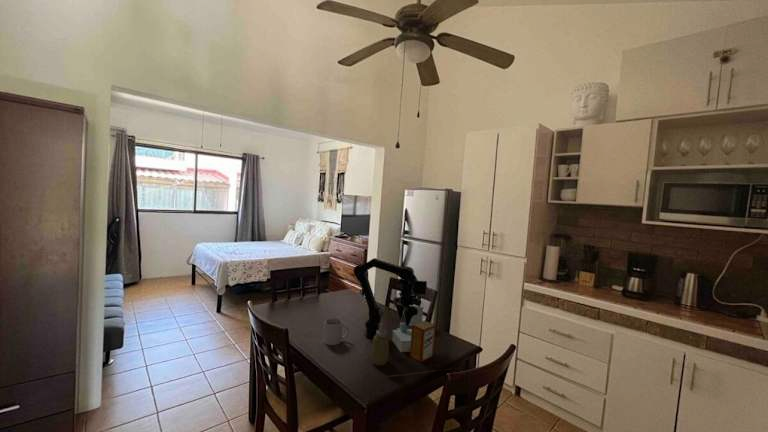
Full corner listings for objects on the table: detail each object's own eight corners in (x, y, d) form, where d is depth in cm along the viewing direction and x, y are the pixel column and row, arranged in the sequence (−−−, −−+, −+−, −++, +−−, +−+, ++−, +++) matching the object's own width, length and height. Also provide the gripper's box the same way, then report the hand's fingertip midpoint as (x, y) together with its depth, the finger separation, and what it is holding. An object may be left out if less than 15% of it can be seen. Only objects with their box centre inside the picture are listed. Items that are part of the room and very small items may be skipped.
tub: (400, 353, 147) (401, 343, 147) (392, 341, 159) (393, 332, 159) (419, 351, 151) (420, 341, 150) (410, 340, 162) (410, 331, 162)
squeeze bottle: (369, 358, 141) (372, 319, 140) (387, 358, 141) (390, 320, 141) (370, 368, 133) (373, 327, 132) (389, 368, 133) (392, 327, 132)
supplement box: (421, 329, 178) (422, 307, 177) (408, 327, 179) (410, 305, 179) (422, 324, 185) (423, 303, 184) (409, 322, 186) (411, 301, 186)
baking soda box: (422, 351, 151) (424, 319, 150) (433, 357, 146) (435, 324, 145) (409, 357, 144) (412, 324, 143) (420, 363, 139) (423, 329, 139)
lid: (401, 342, 147) (402, 333, 147) (391, 330, 161) (391, 321, 160) (421, 341, 150) (422, 331, 150) (409, 328, 164) (410, 319, 164)
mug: (319, 342, 152) (321, 322, 152) (330, 335, 161) (331, 316, 161) (339, 348, 148) (340, 327, 148) (348, 340, 157) (349, 321, 157)
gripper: (428, 297, 152) (426, 328, 152) (413, 286, 169) (410, 314, 170) (407, 298, 148) (405, 330, 149) (394, 286, 165) (391, 315, 166)
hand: (403, 321), depth 159 cm, fingers open, 9 cm apart
